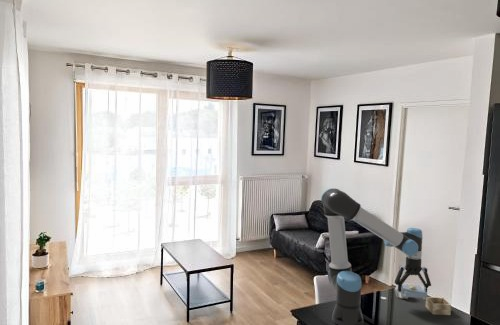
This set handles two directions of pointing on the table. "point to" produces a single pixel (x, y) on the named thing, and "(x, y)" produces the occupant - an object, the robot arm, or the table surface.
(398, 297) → the grey faceted lump
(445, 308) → the box
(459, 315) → the table surface
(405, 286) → the lid
